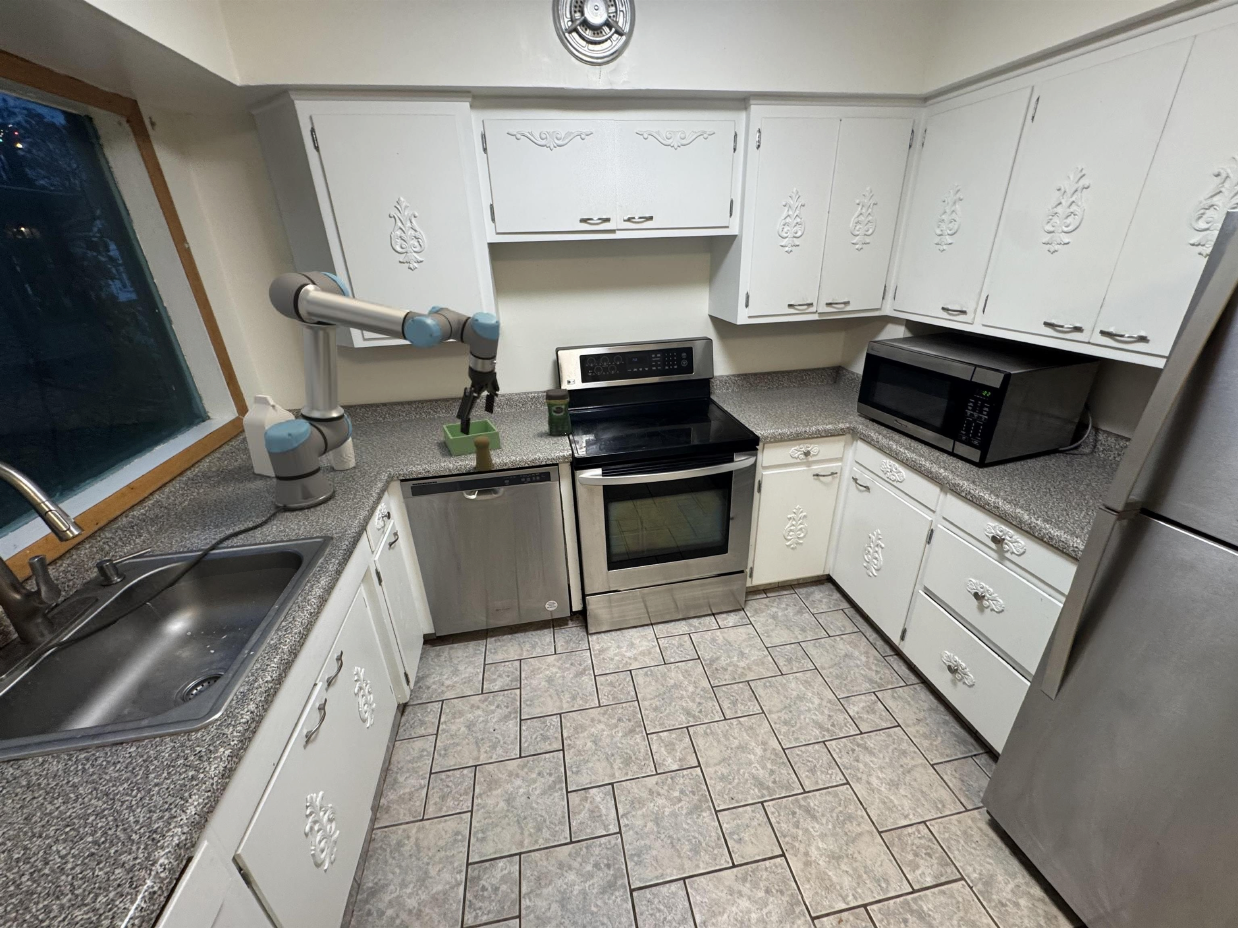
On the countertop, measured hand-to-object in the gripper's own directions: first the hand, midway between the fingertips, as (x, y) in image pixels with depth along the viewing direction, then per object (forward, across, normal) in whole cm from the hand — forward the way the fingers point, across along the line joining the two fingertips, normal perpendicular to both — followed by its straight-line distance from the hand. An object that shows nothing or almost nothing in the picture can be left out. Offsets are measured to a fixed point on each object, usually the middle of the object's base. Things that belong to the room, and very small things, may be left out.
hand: (477, 422), depth 159 cm
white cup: (+34, -14, +42) cm, 55 cm away
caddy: (+30, +19, +12) cm, 38 cm away
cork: (+20, +2, -3) cm, 21 cm away
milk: (+38, -22, +60) cm, 74 cm away
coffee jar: (+26, +43, -14) cm, 52 cm away
